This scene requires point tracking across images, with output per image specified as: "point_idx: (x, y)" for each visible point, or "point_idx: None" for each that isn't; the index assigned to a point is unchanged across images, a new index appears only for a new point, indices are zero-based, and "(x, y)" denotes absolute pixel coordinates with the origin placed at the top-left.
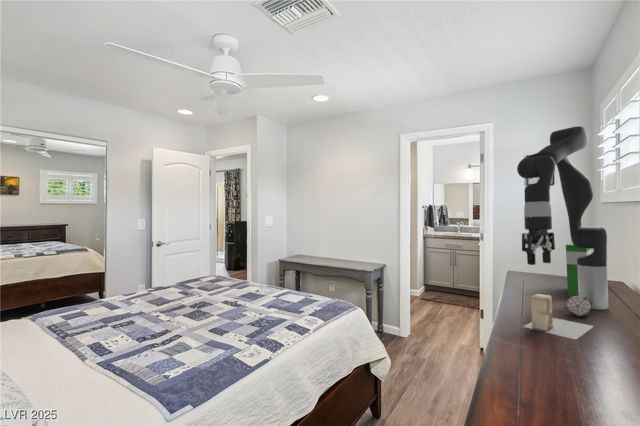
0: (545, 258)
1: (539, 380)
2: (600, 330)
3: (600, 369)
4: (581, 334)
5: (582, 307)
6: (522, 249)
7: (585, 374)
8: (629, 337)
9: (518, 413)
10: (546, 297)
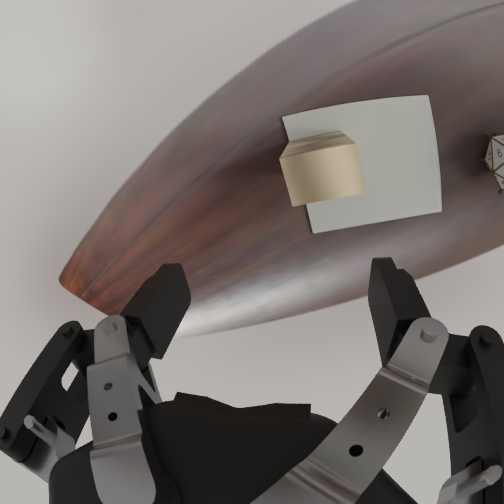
0: (378, 297)
1: (125, 279)
2: (427, 227)
3: (220, 303)
4: (358, 223)
5: (496, 179)
6: (60, 333)
7: None
8: (420, 272)
9: (83, 295)
10: (321, 197)
